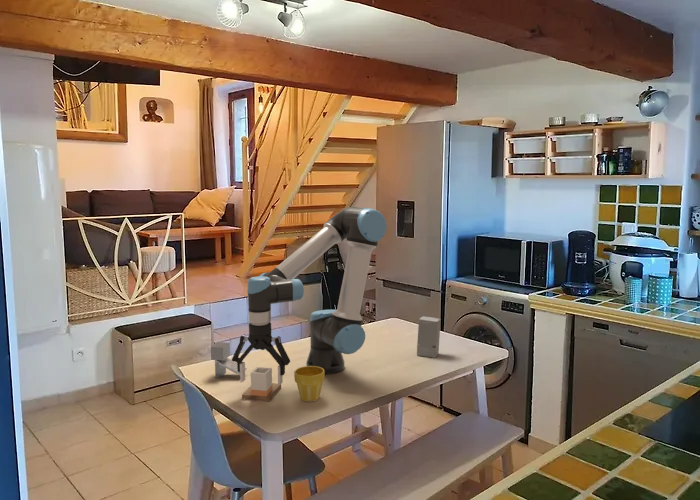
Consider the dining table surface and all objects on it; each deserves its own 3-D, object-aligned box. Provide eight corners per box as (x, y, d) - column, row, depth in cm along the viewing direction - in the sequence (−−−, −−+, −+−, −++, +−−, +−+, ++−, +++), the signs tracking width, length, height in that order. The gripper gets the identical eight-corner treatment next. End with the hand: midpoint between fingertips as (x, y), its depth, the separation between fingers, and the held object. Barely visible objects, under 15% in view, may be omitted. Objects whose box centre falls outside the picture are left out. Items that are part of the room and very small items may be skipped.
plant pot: (294, 392, 196) (294, 365, 195) (324, 391, 197) (324, 365, 196) (294, 404, 186) (294, 376, 185) (325, 403, 187) (325, 375, 186)
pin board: (281, 387, 200) (280, 370, 200) (269, 401, 189) (269, 382, 188) (254, 385, 202) (254, 368, 202) (242, 398, 191) (241, 380, 190)
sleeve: (266, 396, 189) (266, 373, 188) (251, 395, 190) (250, 372, 189) (272, 390, 195) (271, 368, 193) (257, 388, 196) (256, 367, 195)
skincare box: (416, 355, 235) (417, 319, 233) (420, 350, 241) (421, 315, 239) (436, 358, 232) (437, 321, 230) (440, 353, 238) (440, 317, 236)
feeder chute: (246, 374, 214) (246, 343, 212) (240, 379, 208) (239, 348, 207) (218, 371, 216) (217, 342, 215) (211, 377, 211) (210, 346, 209)
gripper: (298, 321, 190) (299, 381, 193) (230, 317, 195) (231, 375, 198) (291, 327, 183) (292, 389, 186) (220, 323, 188) (222, 383, 191)
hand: (261, 382), depth 192 cm, fingers open, 13 cm apart
